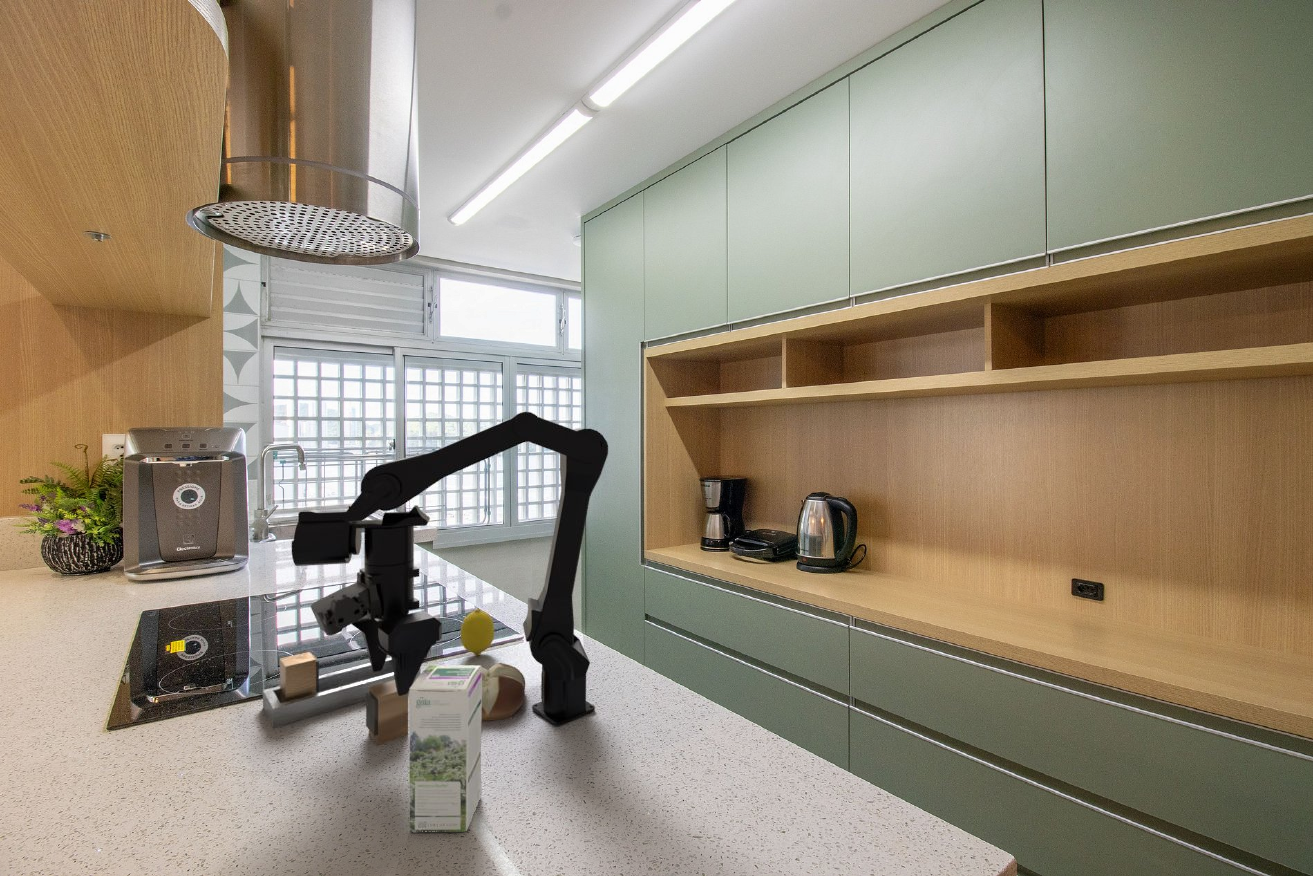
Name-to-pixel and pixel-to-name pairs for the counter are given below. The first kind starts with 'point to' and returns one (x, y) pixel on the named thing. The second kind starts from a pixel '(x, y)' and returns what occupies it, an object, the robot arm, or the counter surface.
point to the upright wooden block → (386, 712)
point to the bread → (501, 691)
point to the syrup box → (445, 748)
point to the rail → (318, 688)
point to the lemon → (477, 632)
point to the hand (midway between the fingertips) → (389, 682)
